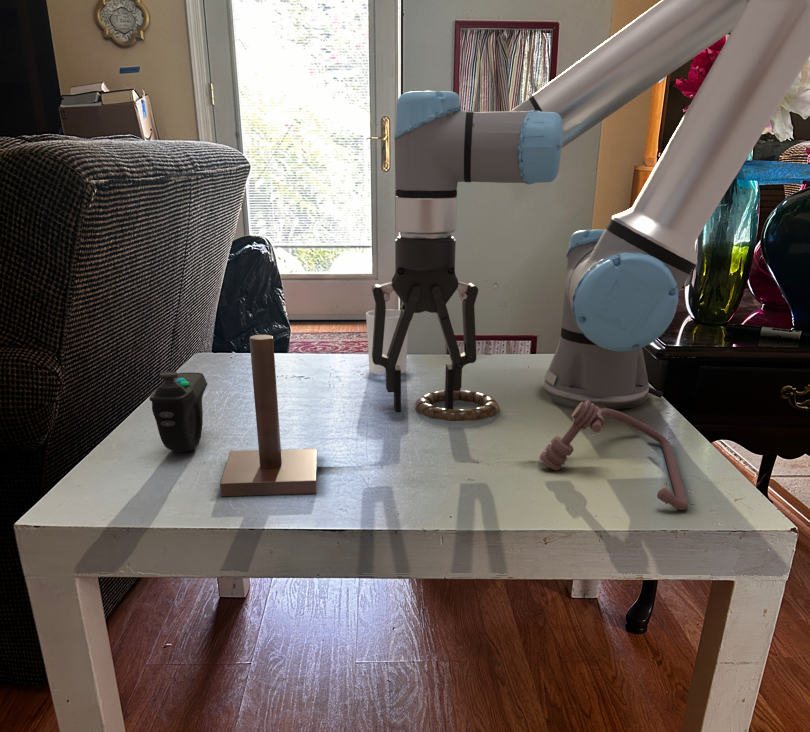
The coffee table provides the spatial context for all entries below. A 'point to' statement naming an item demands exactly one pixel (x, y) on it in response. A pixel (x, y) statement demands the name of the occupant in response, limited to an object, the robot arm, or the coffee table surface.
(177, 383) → the controller
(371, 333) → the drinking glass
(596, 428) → the toilet paper hanger
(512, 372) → the coffee table surface
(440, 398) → the ring
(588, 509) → the coffee table surface
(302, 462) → the stand
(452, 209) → the robot arm
